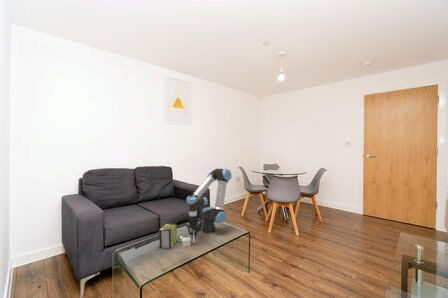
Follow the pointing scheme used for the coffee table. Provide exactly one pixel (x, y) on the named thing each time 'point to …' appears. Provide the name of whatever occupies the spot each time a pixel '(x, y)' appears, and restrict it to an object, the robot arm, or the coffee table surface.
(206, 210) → the robot arm
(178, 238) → the metal tin
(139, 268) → the coffee table surface
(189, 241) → the sage block
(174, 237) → the protein box
